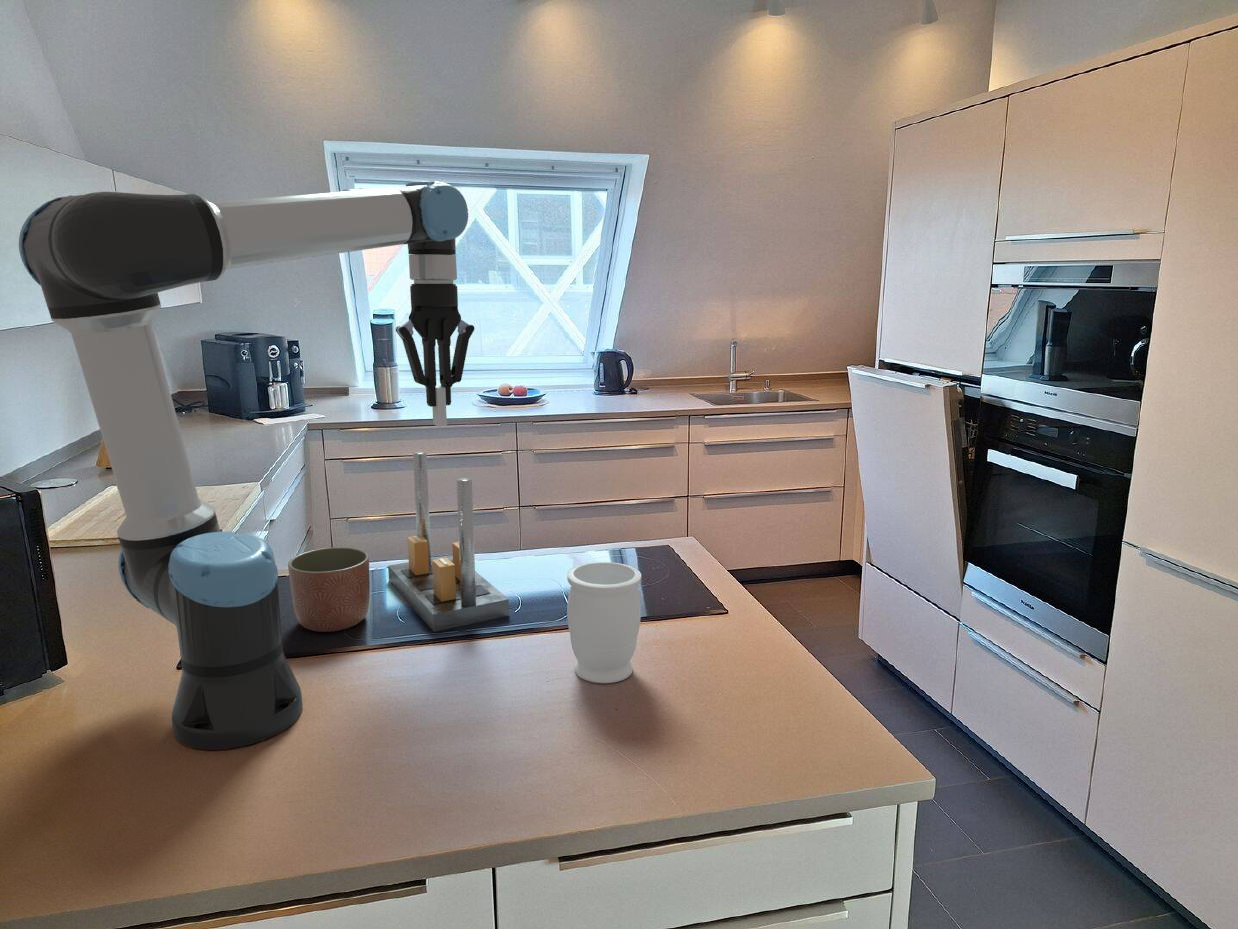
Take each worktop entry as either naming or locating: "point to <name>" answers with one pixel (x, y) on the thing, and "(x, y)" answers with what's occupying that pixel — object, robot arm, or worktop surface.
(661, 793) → the worktop surface
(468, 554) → the peg stand with blocks
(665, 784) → the worktop surface
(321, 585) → the planter
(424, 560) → the tan wooden block
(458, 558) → the tan upright block
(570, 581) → the jar
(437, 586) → the slotted wooden block
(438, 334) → the robot arm
